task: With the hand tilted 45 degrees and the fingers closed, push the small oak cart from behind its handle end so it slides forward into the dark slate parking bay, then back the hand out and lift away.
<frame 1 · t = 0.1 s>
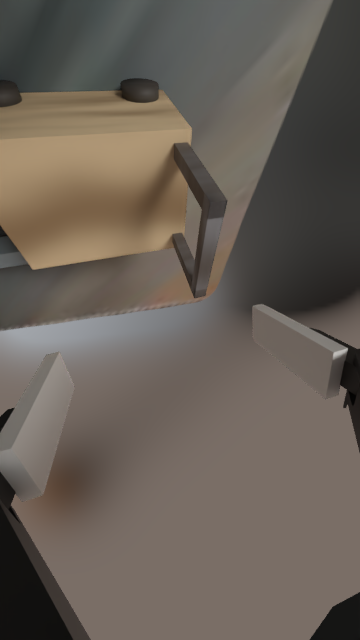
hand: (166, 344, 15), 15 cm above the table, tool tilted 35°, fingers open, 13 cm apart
cart: (91, 160, 18), on the table
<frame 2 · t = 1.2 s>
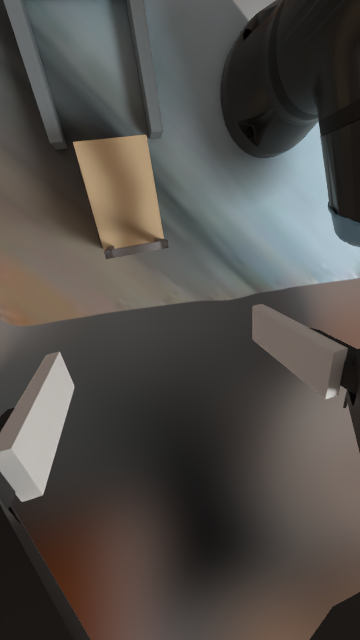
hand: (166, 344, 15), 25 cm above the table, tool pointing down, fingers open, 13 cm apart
cart: (124, 205, 33), on the table
bay: (94, 78, 27), on the table
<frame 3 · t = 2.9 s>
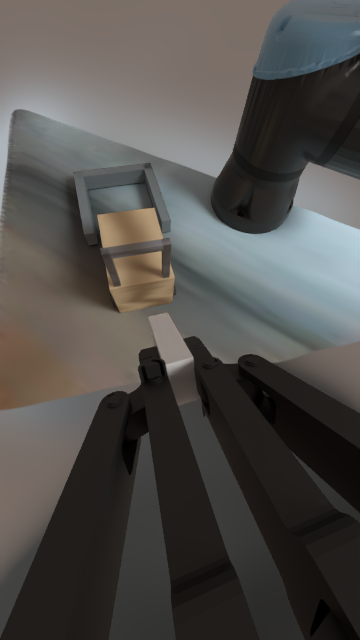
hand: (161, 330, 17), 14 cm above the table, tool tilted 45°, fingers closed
cart: (139, 274, 35), on the table
bay: (123, 210, 40), on the table
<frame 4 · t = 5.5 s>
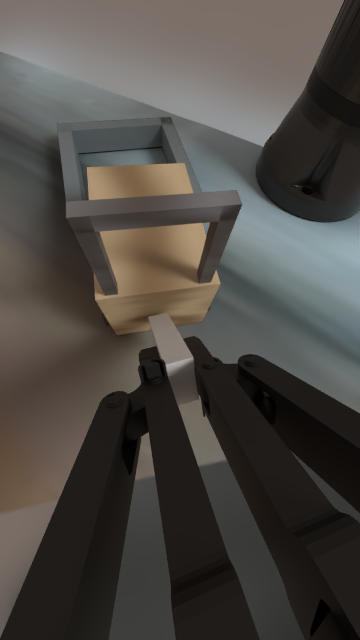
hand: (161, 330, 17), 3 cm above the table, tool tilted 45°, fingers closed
cart: (151, 274, 22), on the table
bay: (130, 183, 27), on the table
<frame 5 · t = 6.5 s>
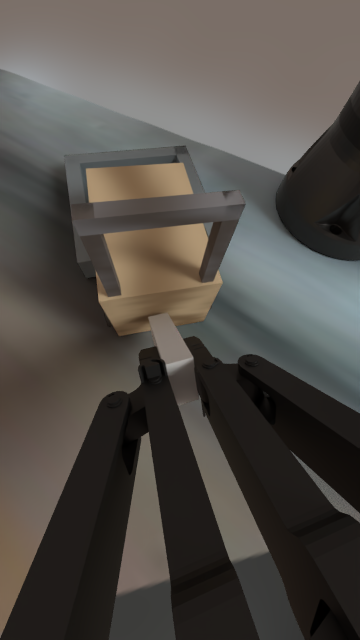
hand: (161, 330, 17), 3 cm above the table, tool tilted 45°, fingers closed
cart: (151, 274, 22), on the table, touching gripper
bay: (143, 219, 25), on the table
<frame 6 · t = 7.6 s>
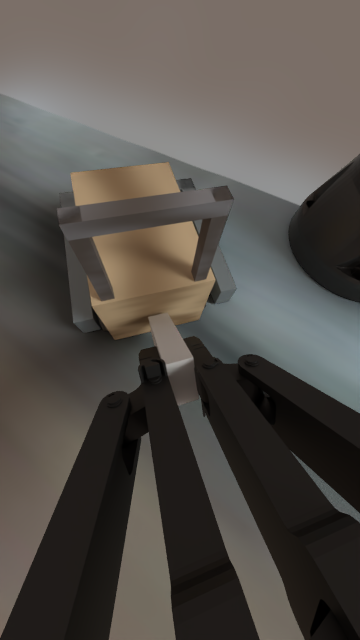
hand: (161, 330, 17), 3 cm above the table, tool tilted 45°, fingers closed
cart: (143, 275, 22), on the table, touching gripper
bay: (145, 260, 23), on the table
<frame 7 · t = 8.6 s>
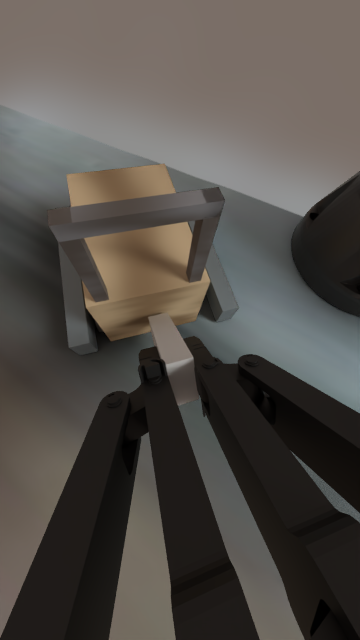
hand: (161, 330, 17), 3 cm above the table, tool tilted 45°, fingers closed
cart: (140, 277, 22), on the table
bay: (144, 276, 22), on the table
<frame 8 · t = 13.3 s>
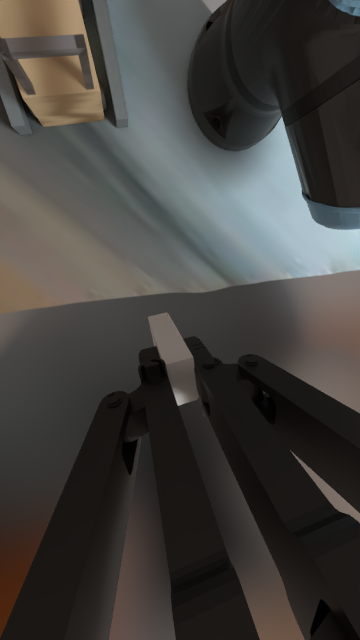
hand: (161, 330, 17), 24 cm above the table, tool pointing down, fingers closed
cart: (56, 62, 27), on the table
bay: (58, 64, 27), on the table
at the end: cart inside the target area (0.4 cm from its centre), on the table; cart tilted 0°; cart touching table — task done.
